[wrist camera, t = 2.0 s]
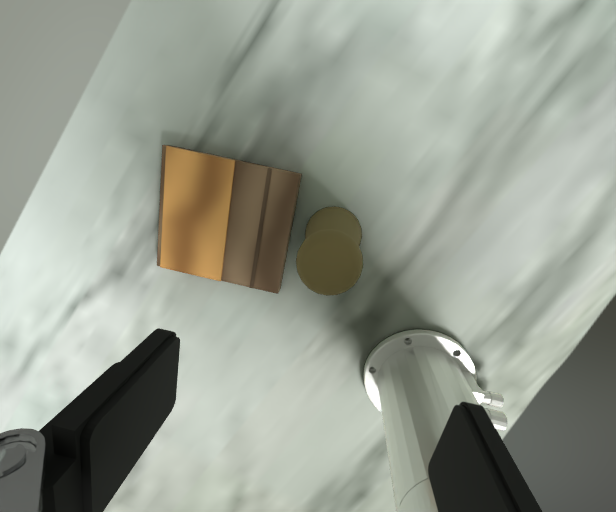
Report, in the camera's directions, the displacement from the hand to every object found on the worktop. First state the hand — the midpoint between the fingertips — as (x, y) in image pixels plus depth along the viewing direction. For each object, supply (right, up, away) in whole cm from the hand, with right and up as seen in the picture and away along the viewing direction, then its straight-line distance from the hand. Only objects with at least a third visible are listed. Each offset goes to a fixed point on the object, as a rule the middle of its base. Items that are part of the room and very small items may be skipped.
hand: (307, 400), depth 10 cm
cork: (+3, +7, +23) cm, 24 cm away
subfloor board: (-9, +9, +23) cm, 27 cm away
